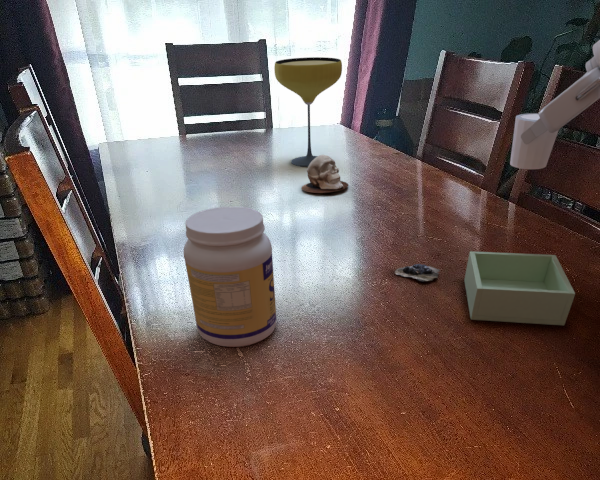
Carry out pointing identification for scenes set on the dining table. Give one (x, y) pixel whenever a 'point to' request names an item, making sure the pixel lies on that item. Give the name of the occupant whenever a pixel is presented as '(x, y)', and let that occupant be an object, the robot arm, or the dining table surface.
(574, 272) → the dining table surface
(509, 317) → the bin
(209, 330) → the supplement tub
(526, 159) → the white cylinder
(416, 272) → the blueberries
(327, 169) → the skull
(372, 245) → the dining table surface
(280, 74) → the cocktail glass
